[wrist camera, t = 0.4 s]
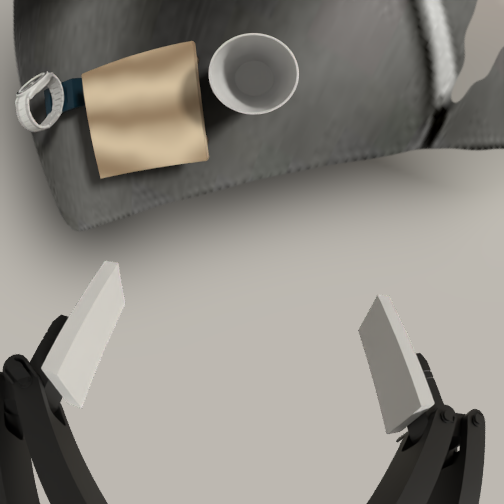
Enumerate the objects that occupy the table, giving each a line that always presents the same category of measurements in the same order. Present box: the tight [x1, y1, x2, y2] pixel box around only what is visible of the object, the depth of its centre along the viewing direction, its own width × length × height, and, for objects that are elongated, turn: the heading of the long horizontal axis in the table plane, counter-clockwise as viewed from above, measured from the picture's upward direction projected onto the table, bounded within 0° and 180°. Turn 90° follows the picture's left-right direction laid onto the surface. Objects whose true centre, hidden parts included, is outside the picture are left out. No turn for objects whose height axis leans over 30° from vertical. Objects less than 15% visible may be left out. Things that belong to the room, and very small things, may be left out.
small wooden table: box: [82, 41, 209, 178], centre depth 29 cm, size 14×14×6 cm
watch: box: [15, 71, 85, 132], centre depth 25 cm, size 6×8×11 cm
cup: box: [209, 33, 299, 114], centre depth 26 cm, size 8×8×10 cm
